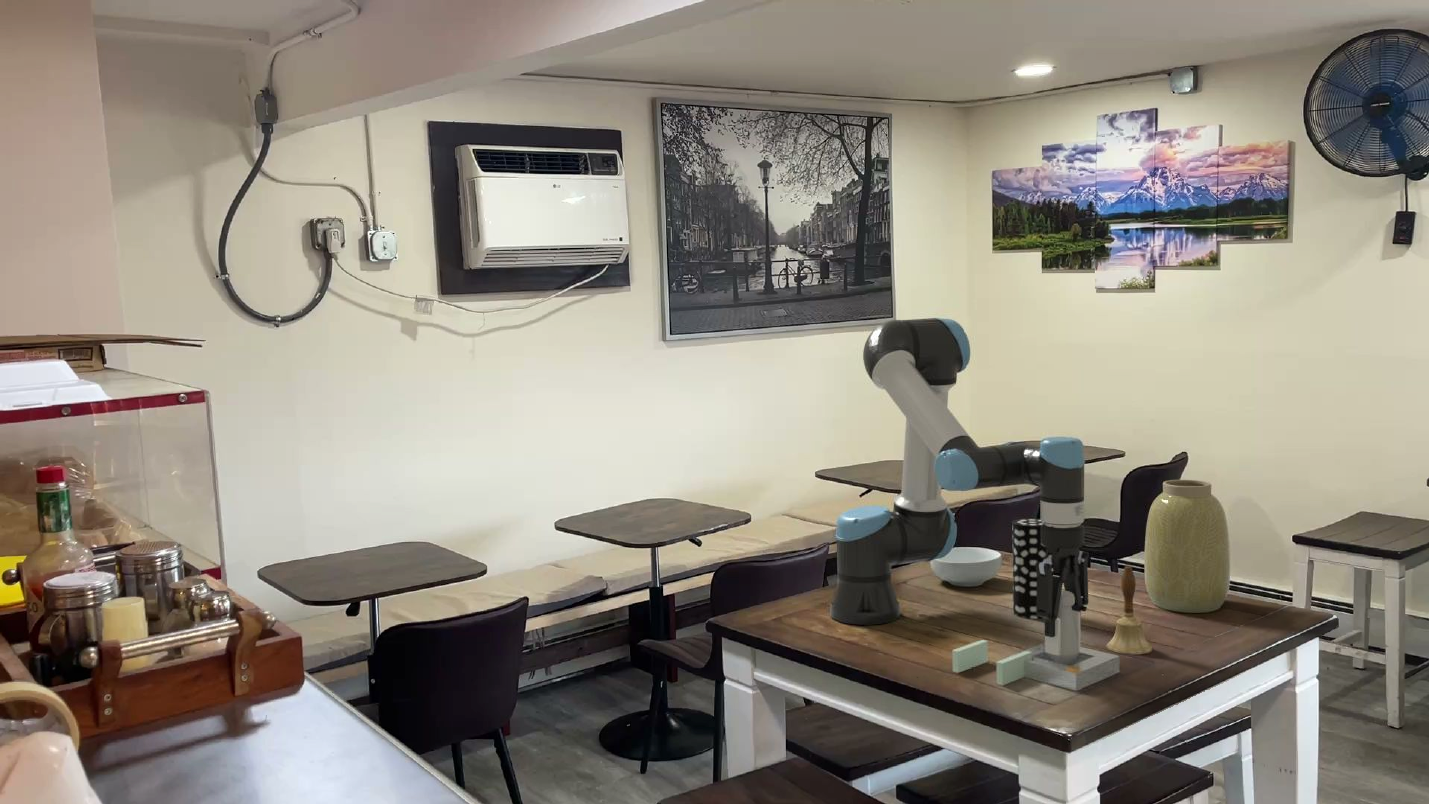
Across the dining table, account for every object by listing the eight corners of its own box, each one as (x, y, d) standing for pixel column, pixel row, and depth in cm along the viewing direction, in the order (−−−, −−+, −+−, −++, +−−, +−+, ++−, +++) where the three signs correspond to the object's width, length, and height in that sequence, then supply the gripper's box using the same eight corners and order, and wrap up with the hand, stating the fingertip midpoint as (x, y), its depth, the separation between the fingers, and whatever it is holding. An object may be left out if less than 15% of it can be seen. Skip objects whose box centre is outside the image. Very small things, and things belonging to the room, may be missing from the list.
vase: (1240, 616, 235) (1241, 489, 232) (1154, 615, 237) (1154, 490, 235) (1217, 595, 251) (1217, 476, 249) (1136, 594, 254) (1136, 477, 252)
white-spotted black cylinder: (1013, 618, 239) (1012, 525, 237) (1012, 607, 247) (1012, 518, 245) (1054, 619, 237) (1053, 526, 235) (1052, 609, 245) (1051, 518, 243)
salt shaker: (1081, 667, 200) (1080, 596, 199) (1047, 666, 201) (1047, 595, 200) (1077, 657, 206) (1076, 588, 204) (1044, 656, 207) (1044, 587, 206)
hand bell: (1098, 649, 216) (1098, 568, 215) (1118, 639, 222) (1118, 560, 221) (1140, 657, 210) (1140, 574, 209) (1159, 647, 216) (1159, 566, 215)
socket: (1007, 672, 204) (1007, 653, 204) (1051, 655, 213) (1051, 637, 213) (1076, 691, 194) (1076, 671, 193) (1119, 672, 202) (1119, 653, 202)
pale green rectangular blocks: (952, 671, 206) (952, 650, 205) (982, 660, 212) (982, 639, 211) (1002, 685, 197) (1002, 663, 197) (1032, 673, 203) (1031, 652, 203)
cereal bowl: (960, 571, 282) (959, 543, 281) (1015, 582, 269) (1015, 553, 268) (915, 583, 271) (915, 554, 271) (971, 595, 258) (971, 565, 258)
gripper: (1050, 534, 192) (1051, 666, 194) (1109, 518, 204) (1109, 642, 206) (1013, 528, 198) (1014, 656, 200) (1072, 513, 210) (1073, 634, 212)
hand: (1062, 649), depth 203 cm, fingers closed on salt shaker, 6 cm apart
